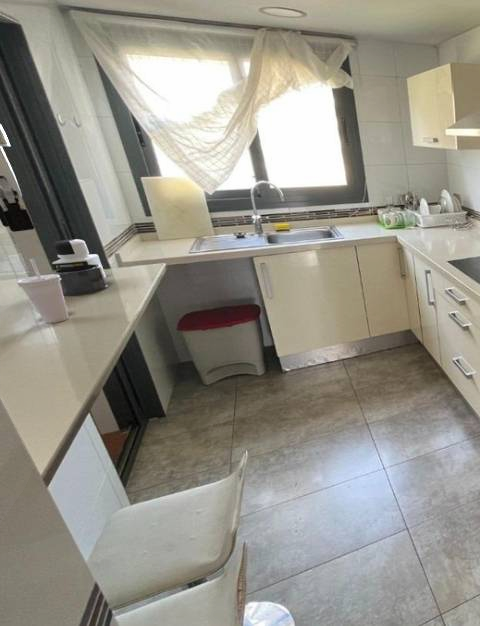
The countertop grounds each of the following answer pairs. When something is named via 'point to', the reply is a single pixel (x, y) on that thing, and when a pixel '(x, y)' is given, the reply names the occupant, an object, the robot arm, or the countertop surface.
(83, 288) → the stand
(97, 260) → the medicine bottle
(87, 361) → the countertop surface
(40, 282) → the smoothie
